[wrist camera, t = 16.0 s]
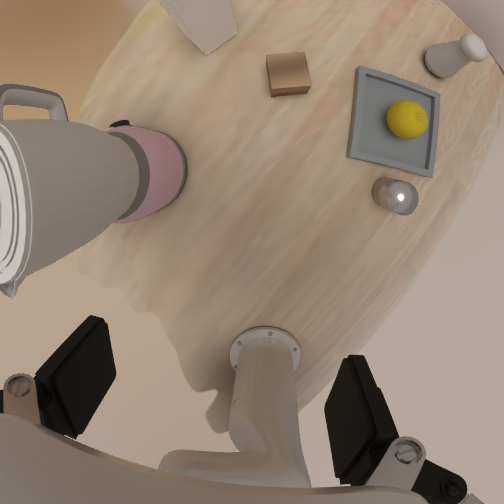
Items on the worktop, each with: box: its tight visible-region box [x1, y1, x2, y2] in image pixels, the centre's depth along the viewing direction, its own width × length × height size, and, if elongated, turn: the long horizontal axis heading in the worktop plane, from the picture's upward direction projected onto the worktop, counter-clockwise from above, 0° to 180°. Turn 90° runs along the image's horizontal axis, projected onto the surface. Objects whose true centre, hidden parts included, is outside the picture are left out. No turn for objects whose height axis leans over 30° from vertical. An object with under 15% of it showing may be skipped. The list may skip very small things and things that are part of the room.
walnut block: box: [266, 52, 311, 97], centre depth 33 cm, size 5×5×5 cm
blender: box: [0, 84, 186, 298], centre depth 25 cm, size 16×12×32 cm
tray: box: [346, 66, 440, 178], centre depth 35 cm, size 14×14×2 cm
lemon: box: [386, 100, 428, 139], centre depth 32 cm, size 6×6×8 cm
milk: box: [158, 0, 238, 56], centre depth 23 cm, size 6×6×22 cm
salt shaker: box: [424, 33, 487, 78], centre depth 26 cm, size 6×6×13 cm
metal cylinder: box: [372, 178, 418, 215], centre depth 37 cm, size 4×4×7 cm
